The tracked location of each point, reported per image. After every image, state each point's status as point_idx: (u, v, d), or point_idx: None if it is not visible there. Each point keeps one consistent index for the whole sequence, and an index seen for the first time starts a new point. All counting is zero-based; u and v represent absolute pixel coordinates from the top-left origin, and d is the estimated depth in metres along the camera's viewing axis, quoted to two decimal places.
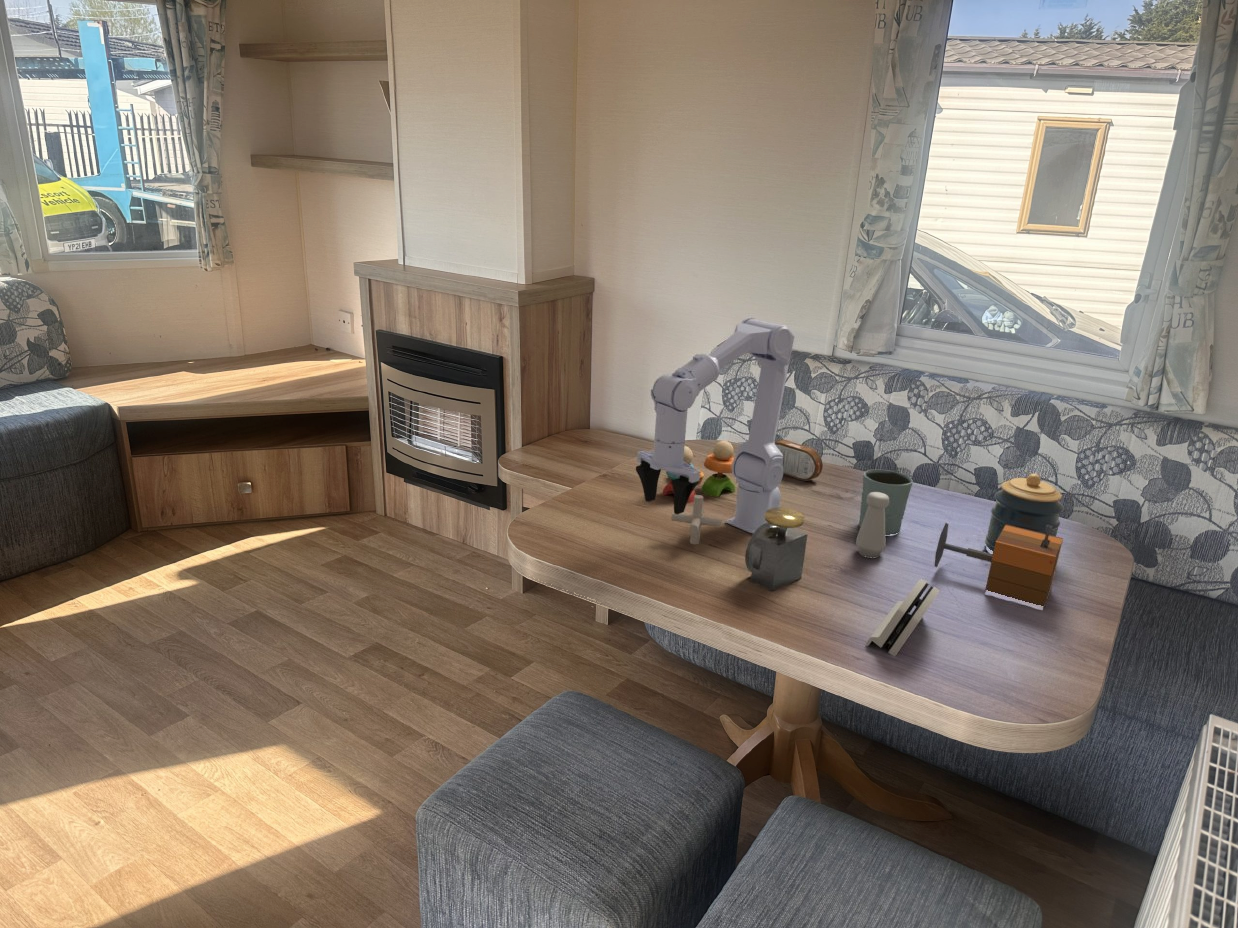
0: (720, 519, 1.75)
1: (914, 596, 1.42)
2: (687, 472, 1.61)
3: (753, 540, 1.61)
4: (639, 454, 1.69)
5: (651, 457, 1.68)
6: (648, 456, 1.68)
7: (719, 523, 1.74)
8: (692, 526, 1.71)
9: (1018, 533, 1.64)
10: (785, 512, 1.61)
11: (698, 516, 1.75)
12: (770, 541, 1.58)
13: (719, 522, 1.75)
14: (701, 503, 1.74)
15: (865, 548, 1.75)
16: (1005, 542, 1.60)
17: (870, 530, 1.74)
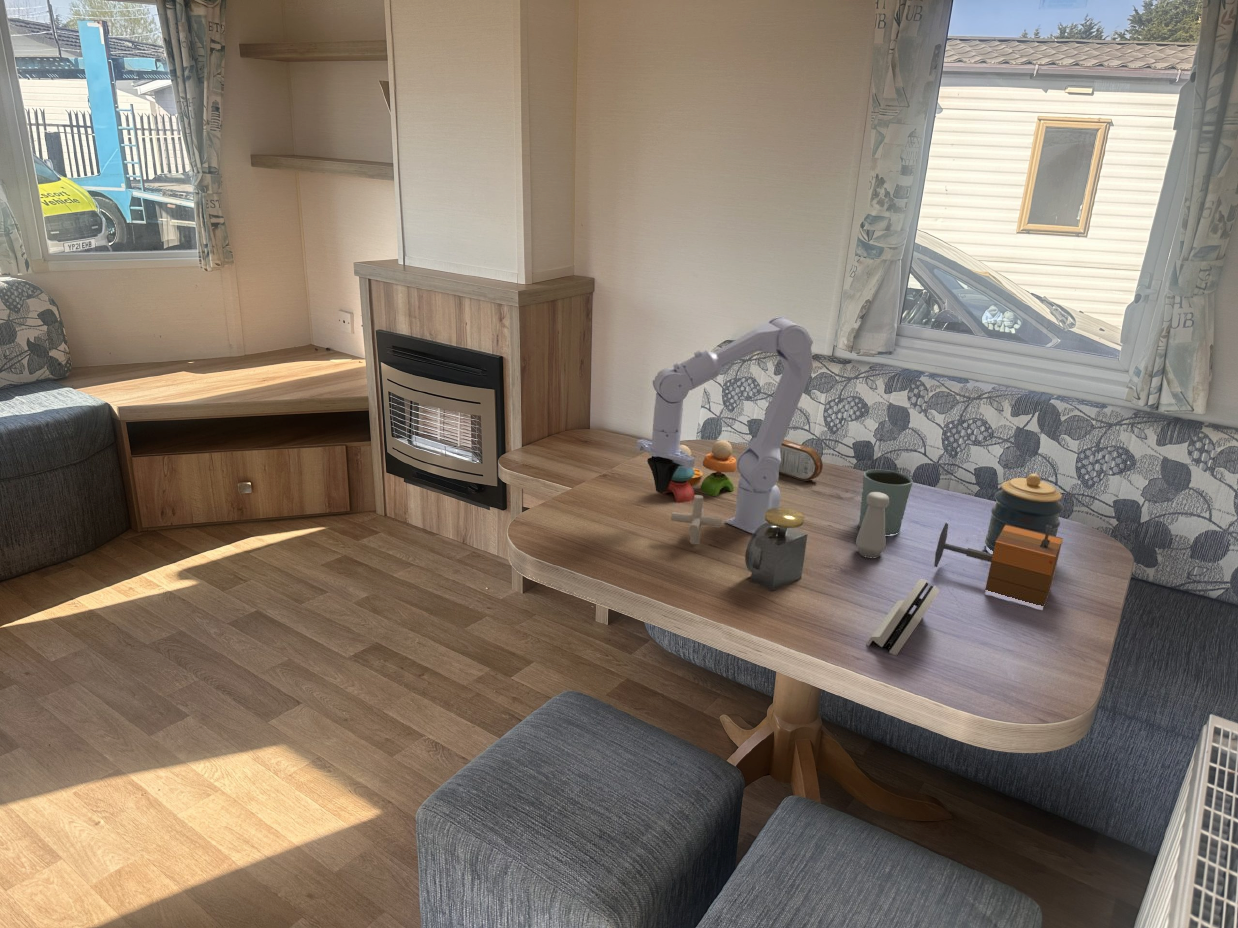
0: (720, 519, 1.75)
1: (915, 595, 1.42)
2: (682, 459, 1.74)
3: (753, 540, 1.61)
4: (638, 442, 1.83)
5: (650, 445, 1.82)
6: (647, 444, 1.82)
7: (719, 523, 1.74)
8: (692, 526, 1.71)
9: (1018, 533, 1.64)
10: (785, 512, 1.61)
11: (698, 516, 1.75)
12: (770, 541, 1.58)
13: (718, 522, 1.75)
14: (701, 503, 1.74)
15: (865, 548, 1.75)
16: (1005, 542, 1.60)
17: (870, 530, 1.74)
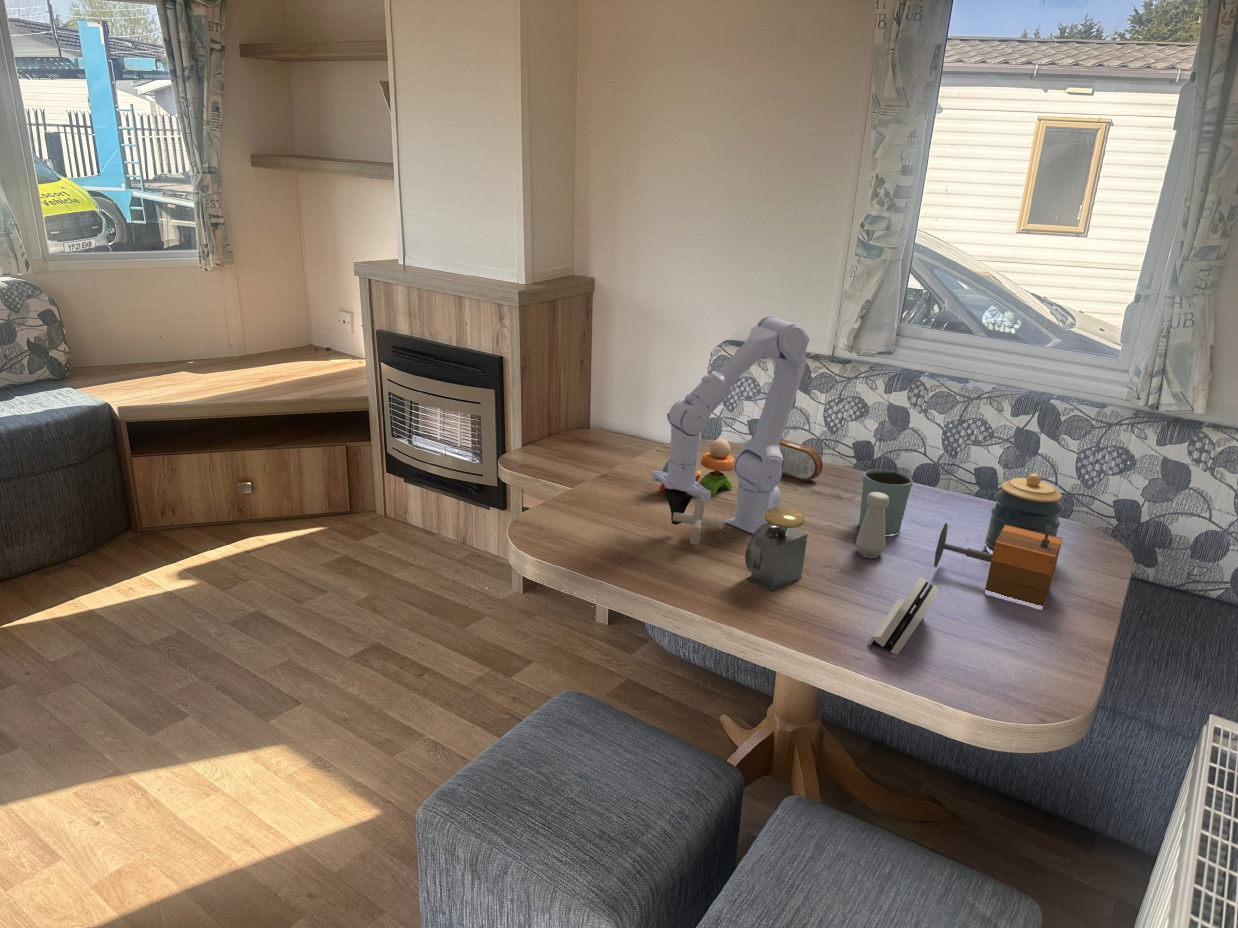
0: (721, 520, 1.75)
1: (915, 595, 1.42)
2: (699, 492, 1.72)
3: (753, 540, 1.61)
4: (654, 474, 1.81)
5: (665, 477, 1.80)
6: (662, 476, 1.80)
7: (720, 524, 1.74)
8: (694, 528, 1.71)
9: (1018, 533, 1.64)
10: (785, 512, 1.61)
11: (700, 517, 1.75)
12: (770, 541, 1.58)
13: (720, 524, 1.74)
14: (703, 504, 1.74)
15: (865, 548, 1.75)
16: (1005, 542, 1.60)
17: (870, 530, 1.74)
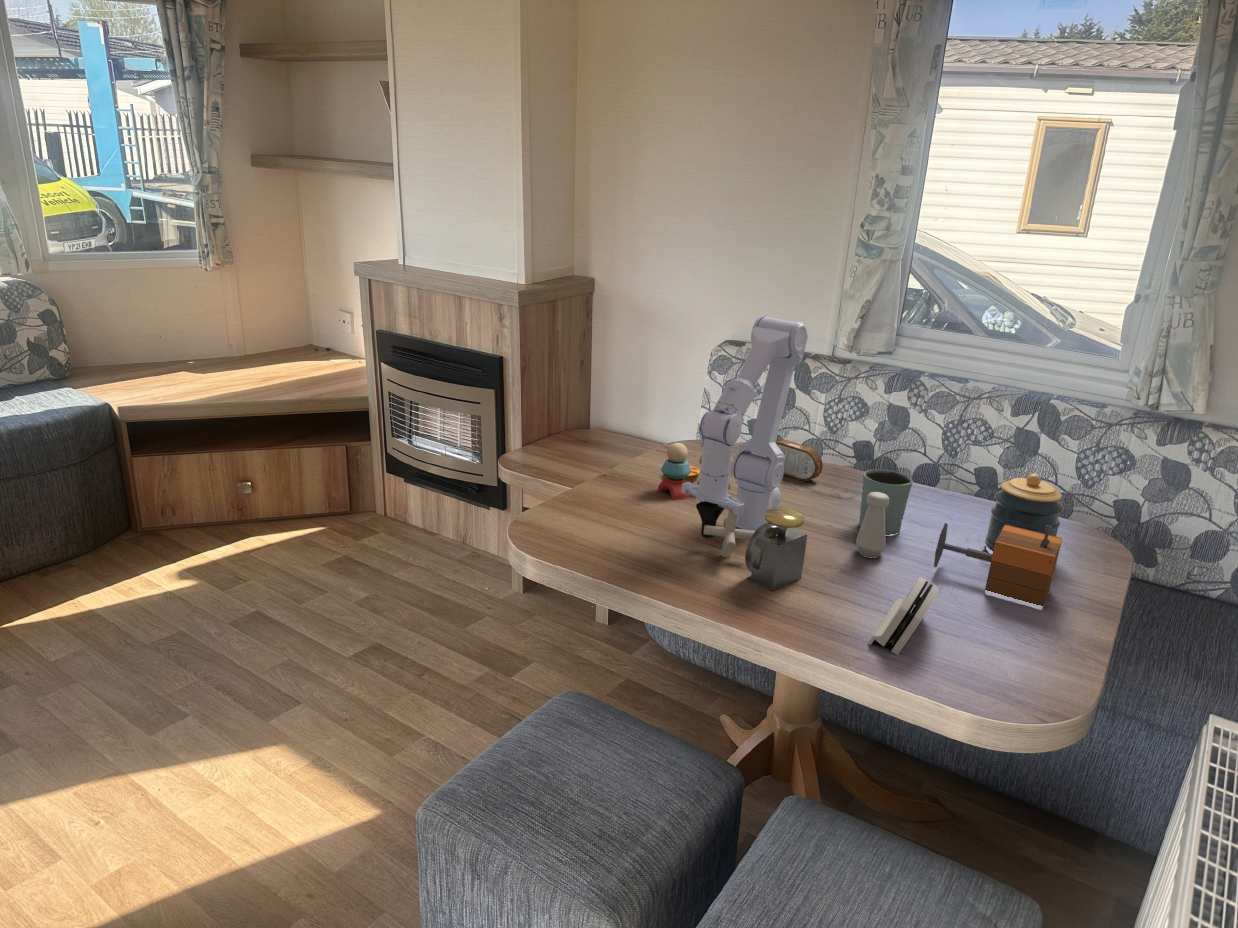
0: None
1: (915, 594, 1.43)
2: (732, 505, 1.67)
3: (753, 540, 1.61)
4: (684, 485, 1.75)
5: (696, 489, 1.74)
6: (693, 488, 1.74)
7: None
8: (730, 543, 1.66)
9: (1018, 533, 1.64)
10: (785, 512, 1.61)
11: (732, 530, 1.70)
12: (770, 541, 1.58)
13: None
14: (736, 517, 1.69)
15: (865, 548, 1.75)
16: (1005, 542, 1.60)
17: (870, 530, 1.74)
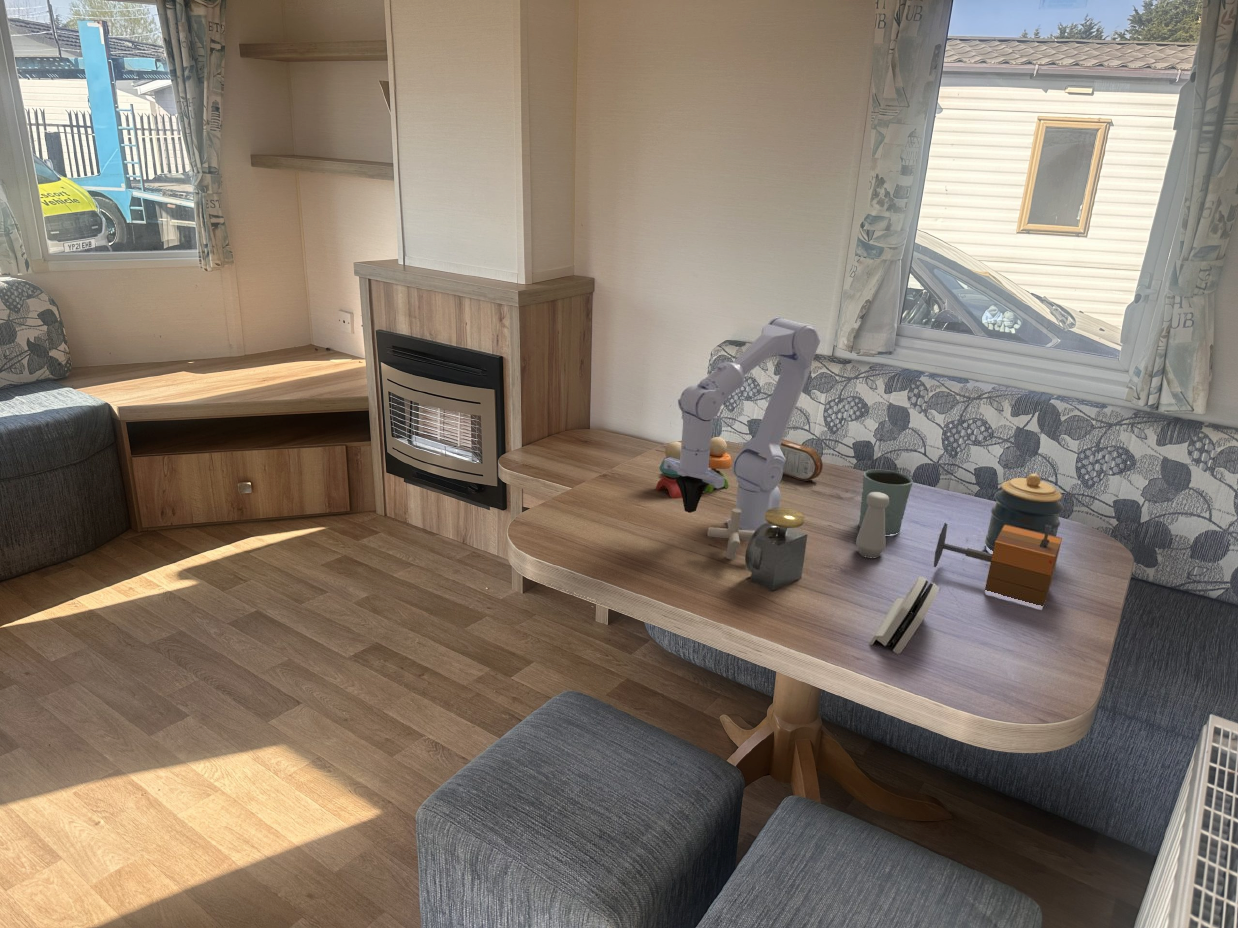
0: None
1: (916, 594, 1.43)
2: (712, 478, 1.70)
3: (753, 540, 1.61)
4: (666, 461, 1.78)
5: (677, 464, 1.77)
6: (675, 463, 1.77)
7: None
8: (734, 542, 1.66)
9: (1018, 533, 1.64)
10: (785, 512, 1.61)
11: (736, 530, 1.69)
12: (770, 541, 1.58)
13: None
14: (739, 517, 1.69)
15: (865, 548, 1.75)
16: (1004, 542, 1.60)
17: (870, 530, 1.74)
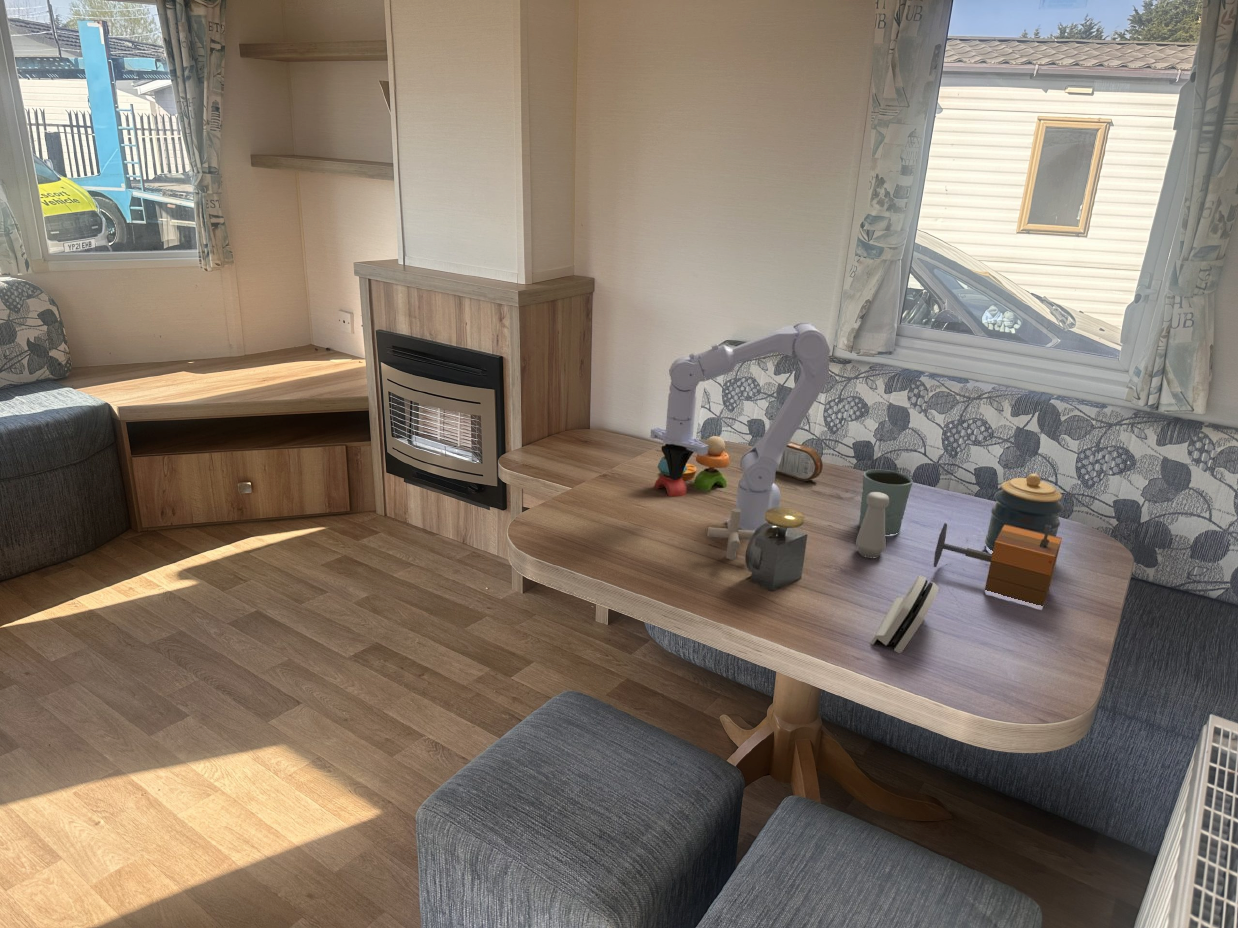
0: None
1: (917, 593, 1.43)
2: (696, 446, 1.78)
3: (753, 540, 1.61)
4: (652, 431, 1.86)
5: (663, 433, 1.85)
6: (661, 432, 1.85)
7: None
8: (734, 542, 1.66)
9: (1017, 533, 1.64)
10: (785, 512, 1.61)
11: (736, 530, 1.69)
12: (770, 541, 1.58)
13: None
14: (739, 517, 1.69)
15: (865, 548, 1.75)
16: (1004, 542, 1.60)
17: (870, 530, 1.74)
